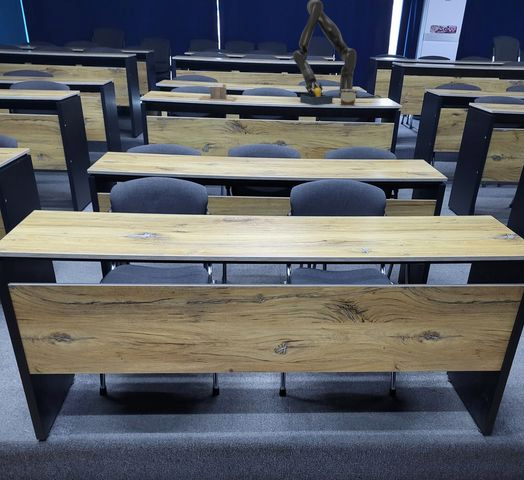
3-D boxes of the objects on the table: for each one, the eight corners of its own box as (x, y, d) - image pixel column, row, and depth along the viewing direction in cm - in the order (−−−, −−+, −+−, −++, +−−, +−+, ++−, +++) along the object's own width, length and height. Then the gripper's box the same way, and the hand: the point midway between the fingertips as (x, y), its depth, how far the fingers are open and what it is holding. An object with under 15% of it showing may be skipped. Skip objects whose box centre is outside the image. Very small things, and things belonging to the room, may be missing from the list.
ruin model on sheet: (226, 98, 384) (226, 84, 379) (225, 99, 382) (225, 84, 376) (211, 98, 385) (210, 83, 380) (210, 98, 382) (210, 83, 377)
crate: (318, 100, 389) (318, 92, 386) (332, 103, 379) (333, 95, 376) (299, 101, 380) (300, 94, 377) (314, 105, 370) (314, 97, 367)
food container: (355, 104, 377) (357, 89, 371) (356, 105, 372) (357, 90, 366) (338, 103, 378) (340, 88, 372) (338, 105, 372) (340, 89, 367)
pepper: (316, 101, 383) (317, 85, 377) (321, 102, 379) (322, 86, 373) (310, 102, 380) (311, 86, 374) (315, 103, 376) (317, 87, 370)
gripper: (303, 73, 370) (313, 93, 369) (319, 72, 378) (328, 92, 376) (298, 80, 377) (308, 100, 376) (313, 79, 384) (323, 99, 383)
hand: (318, 96), depth 376 cm, fingers closed on pepper, 5 cm apart
